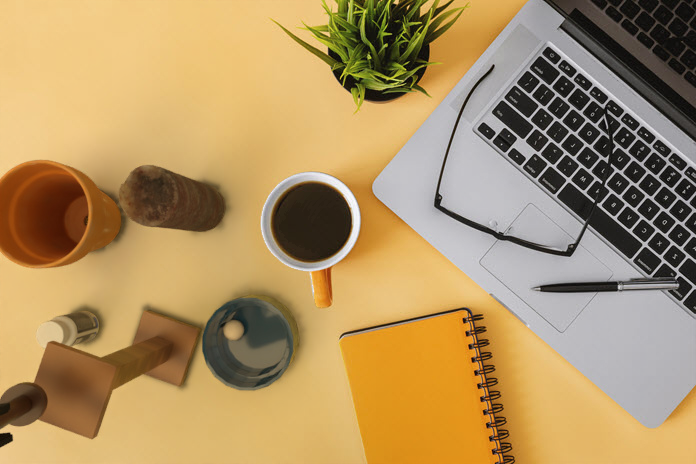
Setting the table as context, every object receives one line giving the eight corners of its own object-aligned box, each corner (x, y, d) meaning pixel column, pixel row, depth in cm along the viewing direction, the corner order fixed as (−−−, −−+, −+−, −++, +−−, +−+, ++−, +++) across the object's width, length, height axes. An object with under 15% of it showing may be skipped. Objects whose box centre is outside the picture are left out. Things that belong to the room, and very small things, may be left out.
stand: (182, 384, 74) (94, 446, 50) (128, 365, 74) (16, 417, 51) (201, 328, 74) (122, 363, 51) (147, 309, 75) (44, 335, 51)
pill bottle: (73, 308, 75) (35, 315, 67) (102, 313, 75) (68, 320, 66) (68, 339, 75) (30, 350, 67) (97, 343, 75) (62, 355, 66)
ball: (240, 346, 72) (220, 342, 71) (243, 330, 74) (224, 326, 73) (243, 334, 70) (223, 330, 69) (247, 318, 72) (227, 313, 72)
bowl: (283, 392, 73) (276, 403, 68) (203, 364, 74) (189, 373, 68) (310, 310, 73) (305, 314, 68) (230, 283, 74) (219, 285, 69)
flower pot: (124, 163, 76) (73, 145, 63) (150, 249, 75) (104, 249, 62) (40, 191, 76) (-27, 178, 63) (65, 277, 75) (1, 282, 62)
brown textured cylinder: (237, 216, 75) (188, 202, 55) (198, 243, 75) (135, 239, 55) (210, 175, 75) (152, 147, 55) (172, 202, 75) (99, 184, 55)
